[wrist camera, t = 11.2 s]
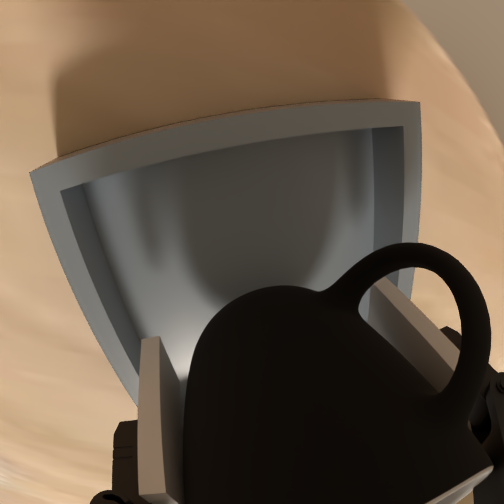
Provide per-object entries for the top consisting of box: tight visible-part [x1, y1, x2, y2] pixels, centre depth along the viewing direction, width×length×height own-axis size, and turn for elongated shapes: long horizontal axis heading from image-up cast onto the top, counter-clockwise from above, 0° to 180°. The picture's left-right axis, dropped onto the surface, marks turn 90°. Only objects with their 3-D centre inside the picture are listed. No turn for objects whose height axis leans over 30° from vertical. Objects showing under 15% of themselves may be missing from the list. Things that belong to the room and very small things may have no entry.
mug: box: [183, 242, 493, 504], centre depth 10 cm, size 12×9×10 cm
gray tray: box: [29, 99, 422, 421], centre depth 15 cm, size 15×17×3 cm
